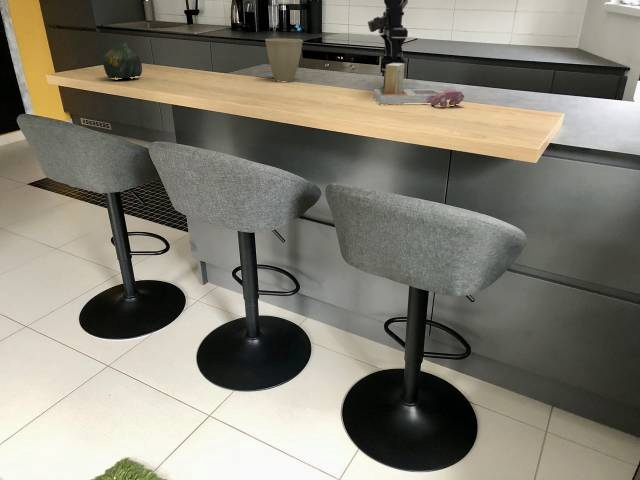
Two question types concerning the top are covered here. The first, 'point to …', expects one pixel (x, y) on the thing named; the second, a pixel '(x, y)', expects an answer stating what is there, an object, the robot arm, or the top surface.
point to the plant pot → (284, 57)
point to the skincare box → (394, 78)
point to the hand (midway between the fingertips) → (390, 57)
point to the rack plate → (406, 96)
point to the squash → (122, 62)
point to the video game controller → (448, 97)
